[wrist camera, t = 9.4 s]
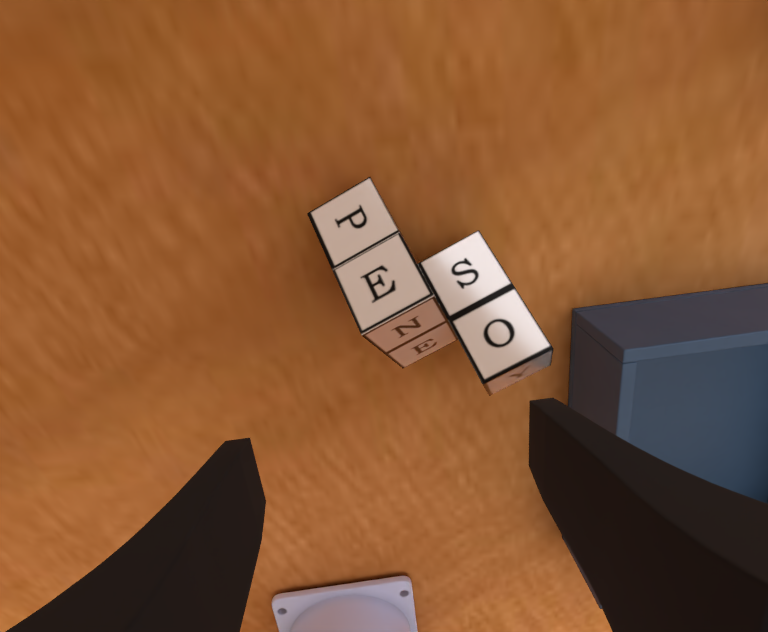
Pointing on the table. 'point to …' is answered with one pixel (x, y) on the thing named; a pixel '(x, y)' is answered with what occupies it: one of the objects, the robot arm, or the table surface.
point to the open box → (680, 381)
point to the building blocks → (427, 292)
